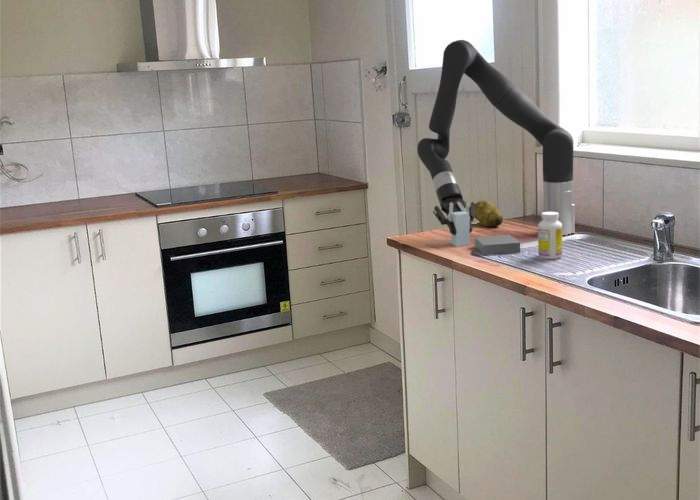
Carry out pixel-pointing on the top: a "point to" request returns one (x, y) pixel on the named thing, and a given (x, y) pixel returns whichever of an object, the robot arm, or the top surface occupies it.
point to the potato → (487, 214)
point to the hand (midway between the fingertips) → (462, 232)
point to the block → (461, 229)
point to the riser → (497, 244)
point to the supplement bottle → (550, 236)
